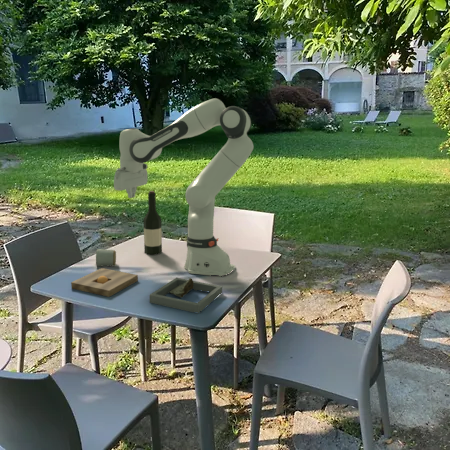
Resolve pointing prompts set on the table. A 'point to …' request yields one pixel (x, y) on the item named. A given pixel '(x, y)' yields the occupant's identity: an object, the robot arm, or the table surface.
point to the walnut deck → (114, 284)
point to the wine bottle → (152, 228)
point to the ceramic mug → (105, 257)
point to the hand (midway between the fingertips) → (131, 197)
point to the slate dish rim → (161, 299)
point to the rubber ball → (102, 279)
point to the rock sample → (183, 288)
